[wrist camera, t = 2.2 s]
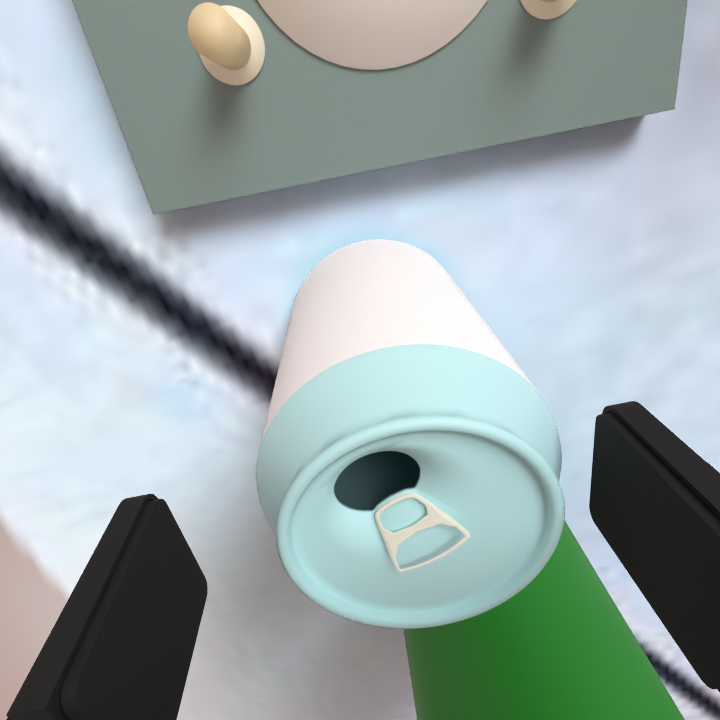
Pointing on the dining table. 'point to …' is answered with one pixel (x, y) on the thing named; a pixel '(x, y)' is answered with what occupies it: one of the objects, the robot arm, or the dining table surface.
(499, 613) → the motor
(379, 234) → the dining table surface
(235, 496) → the dining table surface
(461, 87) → the pin board
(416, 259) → the can
